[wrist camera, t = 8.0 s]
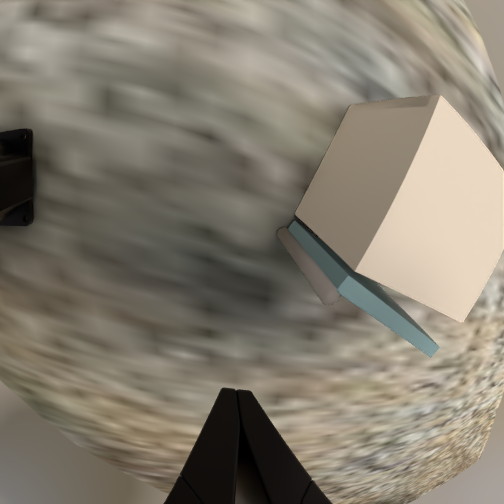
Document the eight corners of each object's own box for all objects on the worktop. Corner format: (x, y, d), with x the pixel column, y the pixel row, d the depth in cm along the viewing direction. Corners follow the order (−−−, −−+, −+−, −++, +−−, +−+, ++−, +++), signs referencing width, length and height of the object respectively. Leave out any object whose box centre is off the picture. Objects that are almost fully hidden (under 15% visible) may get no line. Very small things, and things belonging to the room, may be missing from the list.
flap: (274, 235, 19) (317, 300, 11) (289, 216, 18) (342, 270, 11) (366, 300, 22) (422, 366, 14) (379, 285, 21) (439, 347, 14)
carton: (294, 213, 19) (354, 271, 11) (349, 105, 16) (440, 94, 9) (391, 263, 21) (462, 323, 13) (437, 174, 19) (523, 201, 11)
